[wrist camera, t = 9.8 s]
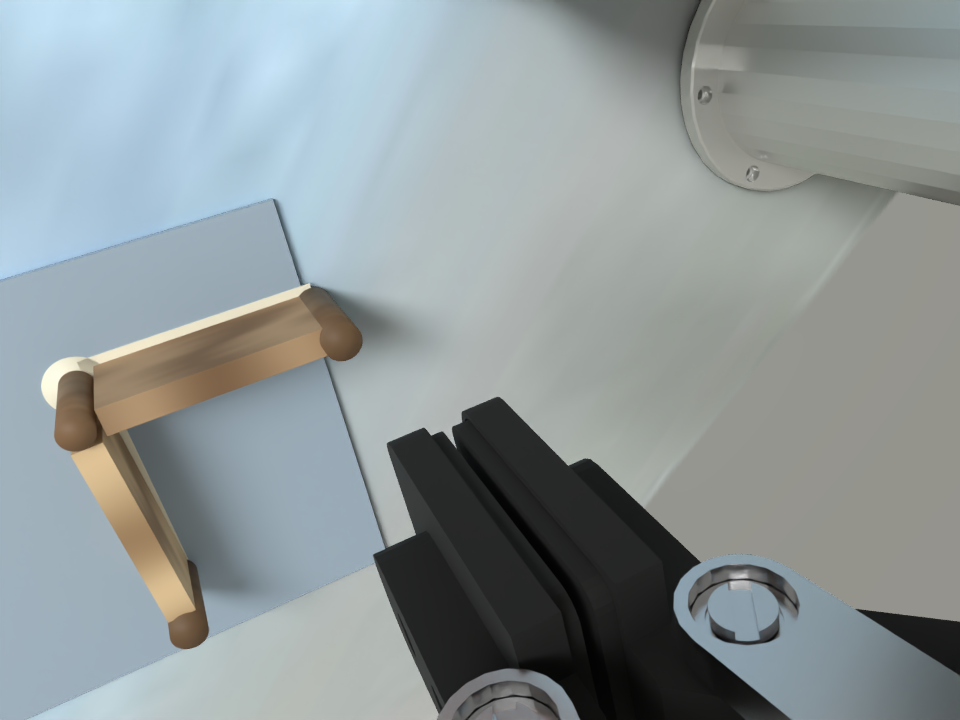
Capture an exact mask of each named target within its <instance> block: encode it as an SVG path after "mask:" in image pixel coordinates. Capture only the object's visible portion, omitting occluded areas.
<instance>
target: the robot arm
mask: <svg viewBox="0 0 960 720" xmlns="http://www.w3.org/2000/svg"><path fill="white" fill-rule="evenodd" d="M680 88H681V106H682V111H683V117H684V122H685V127H686V129H687V132H688V134H689V137H690V140H691V142H692V145H693V147H694V149H695V150H696V152H697V153H698V155H699V156H700V158H701V159H702V161H703V162H704V164H705V165H706V166H708V167H709V168H710V169H711V170H712V171H713V172H714V173H715V174H716V175H717V176H719V177H720V178H722V179H724V180H726V181H727V182H729V183H731V184H734V185H737V186H740V187H744V188H747V189H751V190H759V191H773V190H781V189H786V188H788V187H791V186H794V185H797V184H799V183H802V182H803V181H805V180H807V179H808V178H810V177H812V176H813V175H815V174H822V175H826V176H831V177H835V178H840V179H844V180H848V181H853V182H857V183H862V184H866V185H871V186H875V187H879V188H884V189H888V190H893V191H897V192H902V193H906V194H910V195H915V196H919V197H924V198H928V199H932V200H937V201H941V202H946V203H951V204H955V205H960V0H702V1H701V3H700V5H699V8H698V10H697V12H696V15H695V17H694V19H693V22H692V24H691V26H690V30H689V33H688V37H687V41H686V45H685V49H684V52H683V60H682V68H681V77H680ZM462 422H463V423H460V424H458V425H456V426H453V427H452V432H453V437H454V440H455V444H456V447H457V449H456V448H455V446H454V445H453V444H452V442H451V441H450V440H449V439H448V437H447V436H446V435H445V434H444V433H443V432H439V433H437V434H434V435H432V436H431V435H430V434H429V432H428V431H427V430H426V429H425V428H422V429H419V430H417V431H414V432H412V433H410V434H407V435H405V436H402V437H400V438H398V439H395V440H393V441H390V442H388V443H387V448H388V452H389V455H390V458H391V461H392V464H393V467H394V470H395V473H396V476H397V479H398V482H399V485H400V488H401V491H402V494H403V497H404V500H405V503H406V506H407V509H408V512H409V515H410V518H411V521H412V524H413V527H414V530H415V533H416V535H415V536H413V537H410V538H408V539H406V540H404V541H402V542H399V543H397V544H395V545H393V546H391V547H388V548H386V549H384V550H382V551H380V552H377V553H375V554H373V558H374V561H375V564H376V567H377V569H378V572H379V575H380V578H381V580H382V583H383V586H384V588H385V591H386V594H387V596H388V599H389V601H390V604H391V607H392V609H393V612H394V614H395V617H396V619H397V621H398V624H399V626H400V629H401V631H402V633H403V636H404V638H405V640H406V643H407V645H408V647H409V650H410V652H411V654H412V656H413V659H414V661H415V663H416V665H417V667H418V669H419V672H420V674H421V676H422V678H423V680H424V682H425V685H426V687H427V689H428V691H429V693H430V696H431V698H432V700H433V702H434V704H435V706H436V709H437V711H438V713H439V715H438V718H437V720H960V622H957V621H949V620H941V619H933V618H925V617H916V616H908V615H900V614H892V613H884V612H876V611H868V610H859V609H854V608H852V607H851V606H849V605H847V604H846V603H844V602H843V601H841V600H839V599H838V598H836V597H835V596H833V595H832V594H830V593H828V592H827V591H825V590H824V589H822V588H821V587H819V586H817V585H816V584H814V583H813V582H811V581H810V580H808V579H806V578H805V577H803V576H802V575H800V574H798V573H797V572H795V571H794V570H792V569H791V568H789V567H787V566H785V565H782V564H780V563H778V562H776V561H774V560H772V559H769V558H764V557H759V556H755V555H751V554H750V555H749V554H745V555H743V554H742V555H741V554H731V555H730V554H729V555H725V556H720V557H715V558H711V559H708V560H706V561H704V562H703V563H701V562H700V561H699V560H698V559H697V558H696V557H694V556H693V555H692V554H691V553H690V552H689V551H688V550H687V549H686V548H685V547H684V546H683V545H682V544H681V543H680V542H679V541H678V540H677V539H676V538H674V537H673V536H672V535H671V534H670V533H669V532H668V531H667V530H666V529H665V528H664V527H663V526H662V525H661V524H660V523H659V522H658V521H657V520H655V519H654V518H653V517H652V516H651V515H650V514H649V513H648V512H647V511H646V510H645V509H644V508H643V507H642V506H641V505H640V504H639V503H638V502H637V501H635V500H634V499H633V498H632V497H631V496H630V495H629V494H628V493H627V492H626V491H625V490H624V489H623V488H622V487H621V486H620V485H619V484H618V483H616V482H615V481H614V480H613V479H612V478H611V477H610V476H609V475H608V474H607V473H606V472H605V471H604V470H603V469H602V468H601V467H600V466H599V465H597V464H596V463H595V462H593V461H592V460H591V459H583V460H580V461H578V462H576V463H574V464H572V465H569V466H568V465H567V464H566V463H565V462H564V461H563V460H562V459H561V458H560V457H559V456H558V455H557V454H556V453H555V452H554V451H553V450H552V449H551V448H550V447H549V446H548V445H547V444H546V443H545V442H544V441H543V440H542V439H541V438H540V437H539V436H538V435H537V434H536V433H535V432H534V431H533V430H532V429H531V428H530V427H529V426H528V425H527V424H526V423H525V422H524V421H523V420H522V419H521V418H520V417H519V416H518V415H517V414H516V413H515V412H514V411H513V410H512V409H511V408H510V407H509V406H508V404H507V403H506V402H505V401H504V400H503V399H501V398H500V397H496V398H493V399H491V400H488V401H486V402H484V403H481V404H479V405H477V406H474V407H472V408H469V409H467V410H465V411H462Z"/></svg>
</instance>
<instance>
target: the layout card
mask: <svg viewBox="0 0 960 720" xmlns="http://www.w3.org/2000/svg"><path fill="white" fill-rule="evenodd" d="M309 288H311V286H310V283H308V284H305V285H303V286H301V285H300V282H299V279H298V276H297V273H296V270H295V266H294V263H293V260H292V257H291V254H290V251H289V248H288V245H287V242H286V238H285V235H284V232H283V229H282V226H281V223H280V220H279V217H278V214H277V210H276V207H275V204H274V201H273V199H272V198H271V199H268V200H265V201H261V202H258V203H255V204H251V205H248V206H245V207H241V208H238V209H235V210H232V211H228V212H225V213H222V214H218V215H215V216H212V217H208V218H205V219H202V220H198V221H195V222H192V223H188V224H185V225H182V226H178V227H175V228H172V229H168V230H165V231H162V232H158V233H155V234H152V235H148V236H145V237H142V238H139V239H135V240H132V241H129V242H125V243H122V244H119V245H115V246H112V247H109V248H105V249H102V250H99V251H95V252H92V253H89V254H85V255H82V256H79V257H75V258H72V259H69V260H65V261H62V262H59V263H55V264H52V265H49V266H45V267H42V268H39V269H36V270H32V271H29V272H26V273H22V274H19V275H16V276H12V277H9V278H6V279H2V280H0V720H26V719H28V718H31V717H33V716H35V715H37V714H40V713H42V712H44V711H46V710H48V709H51V708H53V707H55V706H57V705H60V704H62V703H64V702H66V701H69V700H71V699H73V698H75V697H77V696H80V695H82V694H84V693H86V692H89V691H91V690H93V689H95V688H97V687H100V686H102V685H104V684H106V683H109V682H111V681H113V680H115V679H117V678H120V677H122V676H124V675H126V674H129V673H131V672H133V671H135V670H137V669H140V668H142V667H144V666H146V665H149V664H151V663H153V662H155V661H158V660H160V659H162V658H164V657H166V656H169V655H171V654H173V653H175V652H178V651H180V650H182V649H180V648H177V647H175V646H174V645H173V644H172V643H171V641H170V636H169V628H168V621H167V620H166V618H165V616H164V614H163V613H162V611H161V609H160V608H159V606H158V604H157V603H156V601H155V599H154V597H153V596H152V594H151V592H150V591H149V589H148V587H147V585H146V584H145V582H144V580H143V579H142V577H141V575H140V573H139V572H138V570H137V568H136V567H135V565H134V563H133V562H132V560H131V558H130V556H129V555H128V553H127V551H126V550H125V548H124V546H123V544H122V543H121V541H120V539H119V538H118V536H117V534H116V532H115V531H114V529H113V527H112V526H111V524H110V522H109V521H108V519H107V517H106V515H105V514H104V512H103V510H102V509H101V507H100V505H99V503H98V502H97V500H96V498H95V497H94V495H93V493H92V492H91V490H90V488H89V486H88V485H87V483H86V481H85V480H84V478H83V476H82V474H81V473H80V471H79V469H78V468H77V466H76V464H75V462H74V461H73V459H72V457H71V451H67V450H64V449H62V448H61V447H60V446H59V445H58V444H57V443H56V441H55V438H54V430H55V417H56V404H57V391H58V382H59V380H60V378H61V377H62V376H63V375H64V374H66V373H68V372H70V371H77V370H78V371H84V372H86V373H88V374H90V375H91V376H92V377H93V379H94V373H93V366H95V365H98V364H101V363H104V362H107V361H110V360H113V359H116V358H119V357H122V356H124V355H127V354H130V353H133V352H136V351H139V350H142V349H145V348H148V347H151V346H154V345H157V344H160V343H163V342H166V341H169V340H172V339H175V338H177V337H180V336H183V335H186V334H189V333H192V332H195V331H198V330H201V329H204V328H207V327H210V326H213V325H216V324H219V323H222V322H225V321H228V320H230V319H233V318H236V317H239V316H242V315H245V314H248V313H251V312H254V311H257V310H260V309H263V308H266V307H269V306H272V305H275V304H278V303H281V302H283V301H286V300H289V299H292V298H295V297H298V296H299V295H300V294H301V293H302V292H303V291H305V290H306V289H309ZM119 433H120V435H121V437H122V439H123V441H124V443H125V445H126V446H127V448H128V450H129V452H130V454H131V456H132V457H133V459H134V461H135V463H136V465H137V467H138V469H139V470H140V472H141V474H142V476H143V478H144V480H145V482H146V483H147V485H148V487H149V489H150V491H151V493H152V494H153V496H154V498H155V500H156V502H157V504H158V506H159V507H160V509H161V511H162V513H163V515H164V517H165V519H166V520H167V522H168V524H169V526H170V528H171V530H172V532H173V533H174V535H175V537H176V539H177V541H178V543H179V544H180V546H181V548H182V550H183V552H184V554H185V556H186V558H187V560H190V561H192V562H193V563H194V564H195V565H196V567H197V570H198V575H199V580H200V585H201V590H202V595H203V600H204V605H205V611H206V616H207V621H208V626H209V634H208V637H207V638H209V637H211V636H213V635H215V634H218V633H220V632H222V631H224V630H226V629H229V628H231V627H233V626H235V625H238V624H240V623H242V622H244V621H247V620H249V619H251V618H253V617H255V616H258V615H260V614H262V613H264V612H267V611H269V610H271V609H273V608H275V607H278V606H280V605H282V604H284V603H287V602H289V601H291V600H293V599H295V598H298V597H300V596H302V595H304V594H307V593H309V592H311V591H313V590H315V589H318V588H320V587H322V586H324V585H327V584H329V583H331V582H333V581H336V580H338V579H340V578H342V577H344V576H347V575H349V574H351V573H353V572H356V571H358V570H360V569H362V568H364V567H367V566H369V565H371V564H373V563H375V561H374V558H373V554H375V553H377V552H380V551H382V550H384V549H385V546H384V543H383V540H382V537H381V534H380V531H379V528H378V525H377V522H376V518H375V515H374V512H373V509H372V506H371V503H370V500H369V497H368V494H367V490H366V487H365V484H364V481H363V478H362V475H361V472H360V469H359V466H358V462H357V459H356V456H355V453H354V450H353V447H352V444H351V441H350V438H349V434H348V431H347V428H346V425H345V422H344V419H343V416H342V413H341V410H340V406H339V403H338V400H337V397H336V394H335V391H334V388H333V385H332V382H331V378H330V375H329V372H328V369H327V366H326V363H325V360H324V357H323V358H320V359H318V360H315V361H312V362H309V363H307V364H304V365H301V366H299V367H296V368H293V369H290V370H288V371H285V372H282V373H279V374H277V375H274V376H271V377H268V378H266V379H263V380H260V381H257V382H255V383H252V384H249V385H247V386H244V387H241V388H238V389H236V390H233V391H230V392H227V393H225V394H222V395H219V396H216V397H214V398H211V399H208V400H205V401H203V402H200V403H197V404H195V405H192V406H189V407H186V408H184V409H181V410H178V411H175V412H173V413H170V414H167V415H164V416H162V417H159V418H156V419H153V420H151V421H148V422H145V423H142V424H140V425H137V426H134V427H132V428H129V429H126V430H123V431H121V432H119Z"/></svg>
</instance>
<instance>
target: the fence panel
mask: <svg viewBox="0 0 960 720" xmlns="http://www.w3.org/2000/svg"><path fill="white" fill-rule="evenodd" d="M96 422H97V436H96V440H95V441H94V443H93V444H92V445H91V446H90V447H89V448H87V449H85V450H82V451H77V452H72V451H71V457H72V459H73V461H74V462H75V464H76V466H77V468H78V469H79V471H80V473H81V474H82V476H83V478H84V480H85V481H86V483H87V485H88V486H89V488H90V490H91V492H92V493H93V495H94V497H95V498H96V500H97V502H98V503H99V505H100V507H101V509H102V510H103V512H104V514H105V515H106V517H107V519H108V521H109V522H110V524H111V526H112V527H113V529H114V531H115V532H116V534H117V536H118V538H119V539H120V541H121V543H122V544H123V546H124V548H125V550H126V551H127V553H128V555H129V556H130V558H131V560H132V562H133V563H134V565H135V567H136V568H137V570H138V572H139V573H140V575H141V577H142V579H143V580H144V582H145V584H146V585H147V587H148V589H149V591H150V592H151V594H152V596H153V597H154V599H155V601H156V603H157V604H158V606H159V608H160V609H161V611H162V613H163V614H164V616H165V618H166V620H167V621H168V628H169V636H170V641H171V643H172V644H173V645H174V646H175V647H177V648H180V649H190V648H194V647H196V646H198V645H200V644H201V643H203V642H204V641H205V640H206V638H207V637H208V634H209V626H208V621H207V616H206V611H205V605H204V600H203V595H202V590H201V585H200V580H199V575H198V570H197V567H196V565H195V564H194V563H193V562H192V561H190V560H187V558H186V556H185V554H184V552H183V550H182V548H181V546H180V544H179V543H178V541H177V539H176V537H175V535H174V533H173V532H172V530H171V528H170V526H169V524H168V522H167V520H166V519H165V517H164V515H163V513H162V511H161V509H160V507H159V506H158V504H157V502H156V500H155V498H154V496H153V494H152V493H151V491H150V489H149V487H148V485H147V483H146V482H145V480H144V478H143V476H142V474H141V472H140V470H139V469H138V467H137V465H136V463H135V461H134V459H133V457H132V456H131V454H130V452H129V450H128V448H127V446H126V445H125V443H124V441H123V439H122V437H121V435H120V433H119V432H118V433H115V434H112V435H110V436H107V435H106V433H105V431H104V429H103V427H102V425H101V423H100V421H99V419H98V416H97V414H96Z"/></svg>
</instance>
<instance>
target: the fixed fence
mask: <svg viewBox="0 0 960 720" xmlns="http://www.w3.org/2000/svg"><path fill="white" fill-rule="evenodd" d="M362 341H363V340H362V335H361V332H360V331H359V329H358V328H357V327H356V326H355V325H354V324H353V322H352V321H351V320H350V319H349V318H348V316H347V315H346V314H345V313H344V312H343V311H342V309H341V308H340V307H339V306H338V305H337V303H336V302H335V301H334V300H333V299H332V298H331V296H330V295H329V294H328V293H327V292H326V291H325V290H324V289H322V288H319V287H311V288H309V289H306V290H305V291H303V292H302V293H301V294H300V295H299V296H298V297H295V298H292V299H289V300H286V301H283V302H281V303H278V304H275V305H272V306H269V307H266V308H263V309H260V310H257V311H254V312H251V313H248V314H245V315H242V316H239V317H236V318H233V319H230V320H228V321H225V322H222V323H219V324H216V325H213V326H210V327H207V328H204V329H201V330H198V331H195V332H192V333H189V334H186V335H183V336H180V337H177V338H175V339H172V340H169V341H166V342H163V343H160V344H157V345H154V346H151V347H148V348H145V349H142V350H139V351H136V352H133V353H130V354H127V355H124V356H122V357H119V358H116V359H113V360H110V361H107V362H104V363H101V364H98V365H95V366H93V373H94V379H93V377H92V376H91V375H90V374H88V373H86V372H84V371H78V370H77V371H70V372H68V373H66V374H64V375H63V376H62V377H61V378H60V380H59V382H58V391H57V404H56V417H55V430H54V438H55V441H56V443H57V444H58V445H59V446H60V447H61V448H62V449H64V450H67V451H72V452H77V451H82V450H85V449H87V448H89V447H90V446H91V445H92V444H93V443H94V441H95V440H96V436H97V422H96V414H97V416H98V419H99V421H100V423H101V425H102V427H103V429H104V431H105V433H106V435H107V436H110V435H112V434H115V433H118V432H121V431H123V430H126V429H129V428H132V427H134V426H137V425H140V424H142V423H145V422H148V421H151V420H153V419H156V418H159V417H162V416H164V415H167V414H170V413H173V412H175V411H178V410H181V409H184V408H186V407H189V406H192V405H195V404H197V403H200V402H203V401H205V400H208V399H211V398H214V397H216V396H219V395H222V394H225V393H227V392H230V391H233V390H236V389H238V388H241V387H244V386H247V385H249V384H252V383H255V382H257V381H260V380H263V379H266V378H268V377H271V376H274V375H277V374H279V373H282V372H285V371H288V370H290V369H293V368H296V367H299V366H301V365H304V364H307V363H309V362H312V361H315V360H318V359H320V358H323V357H326V356H329V357H330V358H331V359H333V360H336V361H346V360H349V359H351V358H353V357H354V356H355V355H357V353H358V352H359V351H360V349H361V346H362Z"/></svg>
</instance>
